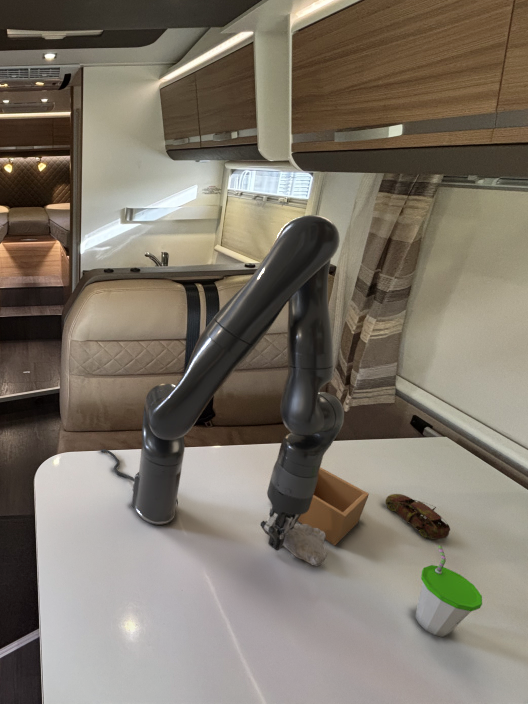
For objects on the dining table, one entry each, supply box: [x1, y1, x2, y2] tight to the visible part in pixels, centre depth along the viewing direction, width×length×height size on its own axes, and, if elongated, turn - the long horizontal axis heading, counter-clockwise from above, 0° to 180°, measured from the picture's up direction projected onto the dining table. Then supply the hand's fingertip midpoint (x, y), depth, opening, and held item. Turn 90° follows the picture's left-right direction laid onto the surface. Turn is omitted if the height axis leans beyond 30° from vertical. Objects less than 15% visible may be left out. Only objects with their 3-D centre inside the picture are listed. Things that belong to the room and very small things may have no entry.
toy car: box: [384, 493, 451, 540], centre depth 99 cm, size 12×7×5 cm, turn 10°
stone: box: [282, 522, 327, 567], centre depth 92 cm, size 8×10×6 cm
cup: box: [414, 545, 483, 638], centre depth 75 cm, size 8×8×15 cm
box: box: [297, 466, 370, 546], centre depth 100 cm, size 12×14×9 cm
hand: (274, 546), depth 91 cm, fingers closed
